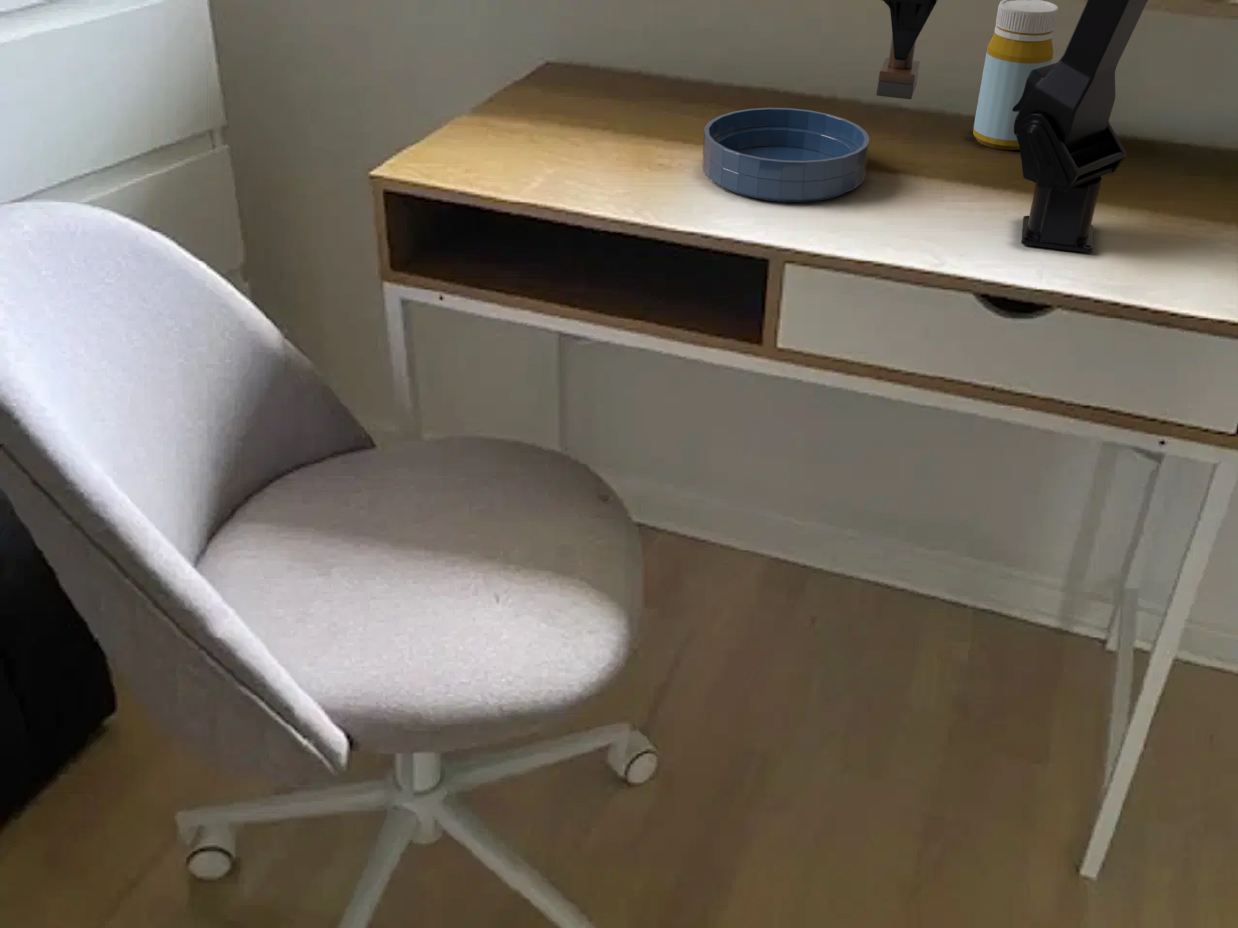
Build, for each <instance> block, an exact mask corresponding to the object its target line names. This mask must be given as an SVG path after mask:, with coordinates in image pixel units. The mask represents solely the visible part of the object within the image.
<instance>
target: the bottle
mask: <svg viewBox="0 0 1238 928" xmlns="http://www.w3.org/2000/svg"><path fill="white" fill-rule="evenodd" d="M1058 12H1059V6H1058V5H1056V4H1054V3H1053V2H1050V1H1047V0H1000V1H999V4H998V8H997V13H996V19H995V27H994V33H993V36H992V37H991V39H990V41H989V43H988V44H987V47H986V54H985V59H984V63H983V69H982V77H981V83H980V88H979V93H978V98H977V99H978V100H977V104H976V105H977V106H976V112H975V118H974V122H973V130H972V134H973V136H974V138H975V139H976V141H977V143H979V144H981V145H983V146H985V147H988V148H992V149H996V150H1003V151H1005V150H1006V151H1018V150H1019V151H1020V146H1019V144H1018V141H1017V137H1016V135H1015V134H1014V123H1015V119H1016V116H1017V114H1018V112H1013V110H1012V109H1013V107H1014V106H1015V105H1016V104H1017V103H1018V102H1019V100H1020V99H1021V97H1022V95H1023V92H1024V88H1025V84H1026V80H1027V78H1028V76H1029V74H1030V72H1031V71H1032V70H1034V69H1037V68H1040V67H1044V66H1047V65H1050V64H1053V63H1052V62H1053V56H1054V46H1053V35H1054V29H1055V27H1056V22H1057V17H1058Z"/></svg>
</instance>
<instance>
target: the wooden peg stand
mask: <svg viewBox="0 0 1238 928" xmlns="http://www.w3.org/2000/svg"><path fill="white" fill-rule="evenodd" d="M890 40H891V41H890V48H889V56H888V57H885V59H884V61H883V62H882V65H881V68H880V70H879V73H878V81H877V88H876V96H878V97H887V98H893V99H904V100H912V98H913V95H914V92H915V90H916V87H917V84H918V78H919V70H920V61H919V60H914V57H915V50H916V43H917V40H916V41H915V43H914V45H913V47H912V49H911V50H910V52H909V54H908V56H907V58H906V59H905V60H897V59H895V57H894V46H893V35H892V34H891V39H890Z"/></svg>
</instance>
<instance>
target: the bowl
mask: <svg viewBox="0 0 1238 928" xmlns="http://www.w3.org/2000/svg"><path fill="white" fill-rule="evenodd" d="M870 141H871V139H870V137H869V134H868V132H867V131H866V130H865V129H864V128H862V127H861V126H860V125H858V124H856V123H855V122H853V121H851V120H848V119H847V118H844V117H839V116H836V115H833V114H829V113H825V112H821V111H814V110H810V109H802V108H801V109H800V108H792V107H789V108H788V107H759V108H748V109H741V110H735V111H731V112H728V113H724V114H721V115H718V116H717V117H715V118H713V119H711V120H709V121H708V122H707V124H706V126H705V127H704V128H703V143H702V161H701V164H702V171H703V173H704V174H705V176H706V177H707V178H708V180H711V181H712V182H713V183H715V184H717V185H719V186H720V187H721V188H723V189H725V190H727V191H729V192H732V193H734V194H737V195H740V196H744V197H747V198H751V199H756V200H760V201H761V200H762V201H767V202H778V203H810V202H820V201H825V200H830V199H835V198H836V197H840V196H842V195H844V194H846V193H848V192H850V191H853V190H855V189H857V188H858V187H859V186H860V185H861V184H862V183H863V182H864V179H865V177H866V174H867V173H866V172H867V166H868V157H869V150H870Z"/></svg>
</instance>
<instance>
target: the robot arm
mask: <svg viewBox="0 0 1238 928" xmlns="http://www.w3.org/2000/svg"><path fill="white" fill-rule="evenodd" d="M882 1H883V2H884V4H886V5H887V7H888V8H889V13H890V23H891V32H892V33H891V36H892V35H893V46H894V57H895V59H897V60H905V59H906V58H907V56H908V54H909V52H910V50H911V49H912V47H913V45H914V43H915V41H916V42H917V40H918V37H919V36H920V34H921V32H922V30H923V28H924V26H925V25H926V23H927V21H928V19H929V17H930V15H931V14H932V12H933V10H934V8H935V6H936V5H937V3H938V1H939V0H882ZM1148 1H1149V0H1087V1H1086V2H1085V5H1084V7H1083V9H1082V12H1081V14H1080V16H1079V18H1078V20H1077V23H1076V24H1075V28H1074V29H1073V32H1072V34H1071V37H1070V39H1069V41H1068V44H1067V46H1066V48H1065V50H1064V53H1063V54H1062V56H1061V57H1060V59H1059V60H1058V61H1057V62H1054V63H1051V64H1050V65H1047V66H1044V67H1040V68H1037V69H1034V70H1032V71H1031V72H1030V74H1029V76H1028V78H1027V80H1026V84H1025V88H1024V92H1023V95H1022V97H1021V99H1020V100H1019V102H1018V103H1017V104H1016V105H1015V106H1014V107H1013V109H1012V110H1013V112H1018V114H1017V116H1016V119H1015V123H1014V134H1015V135H1016V137H1017V141H1018V144H1019V146H1020V150H1019V152H1020V161H1021V169H1022V177H1023V179H1024V180H1027V181H1029V182H1033V183H1034V184H1035V186H1034V191H1033V195H1032V201H1031V206H1030V210H1029V215H1024V216H1023V217H1022V225H1021V236H1020V237H1021V238H1020V244H1022V245H1024V246H1031V247H1039V248H1047V249H1055V250H1064V251H1071V252H1079V253H1088V254H1089V253H1093V252H1094V227H1093V224H1092V223H1093V220H1094V219H1093V218H1094V214H1095V209H1096V205H1097V201H1098V197H1099V194H1100V193H1099V192H1100V189H1101V184H1102V177H1104V176H1106V175H1109V174H1114V173H1116V172H1117V171H1118V169H1119V168H1120V166H1121V165H1122V163H1123V162H1124V160H1125V158H1126V157H1127V152H1126V150H1125V148H1124V147H1123V144H1122V143H1121V141H1120V139H1119V138H1118V136H1117V133H1116V132H1115V130H1114V129H1113V126H1112V125H1111V123H1110V118H1111V114H1112V111H1113V107H1114V104H1115V101H1116V70H1117V67H1118V64H1119V62H1120V60H1121V58H1122V56H1123V54H1124V51H1125V50H1126V47H1127V45H1128V43H1129V41H1130V39H1131V37H1132V36H1133V35H1132V34H1133V33H1134V30H1135V29H1136V26H1137V24H1138V22H1139V20H1140V18H1141V16H1142V14H1143V11H1144V10H1145V7H1146V6H1147V3H1148ZM915 44H916V43H915Z"/></svg>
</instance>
